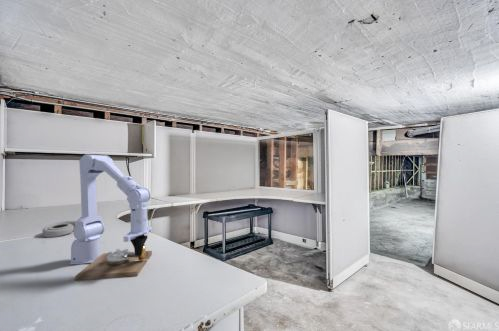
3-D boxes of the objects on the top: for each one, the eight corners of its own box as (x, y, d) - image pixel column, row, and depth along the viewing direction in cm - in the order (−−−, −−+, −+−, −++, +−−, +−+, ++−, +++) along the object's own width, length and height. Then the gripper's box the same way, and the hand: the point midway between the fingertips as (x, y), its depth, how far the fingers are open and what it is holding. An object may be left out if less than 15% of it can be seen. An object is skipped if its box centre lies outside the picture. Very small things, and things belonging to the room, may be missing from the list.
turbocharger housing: (35, 240, 133) (62, 240, 133) (34, 228, 133) (61, 228, 133) (59, 230, 150) (83, 229, 150) (58, 219, 150) (82, 219, 150)
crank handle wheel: (102, 265, 90) (102, 250, 90) (113, 257, 98) (113, 243, 98) (141, 264, 91) (141, 249, 91) (149, 256, 99) (149, 242, 99)
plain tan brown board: (74, 280, 82) (75, 275, 82) (103, 257, 103) (103, 253, 103) (140, 275, 85) (140, 271, 85) (154, 253, 107) (154, 250, 107)
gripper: (135, 224, 85) (135, 263, 85) (158, 216, 99) (158, 249, 99) (118, 223, 86) (118, 261, 86) (143, 215, 100) (143, 248, 100)
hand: (138, 255), depth 93 cm, fingers closed
